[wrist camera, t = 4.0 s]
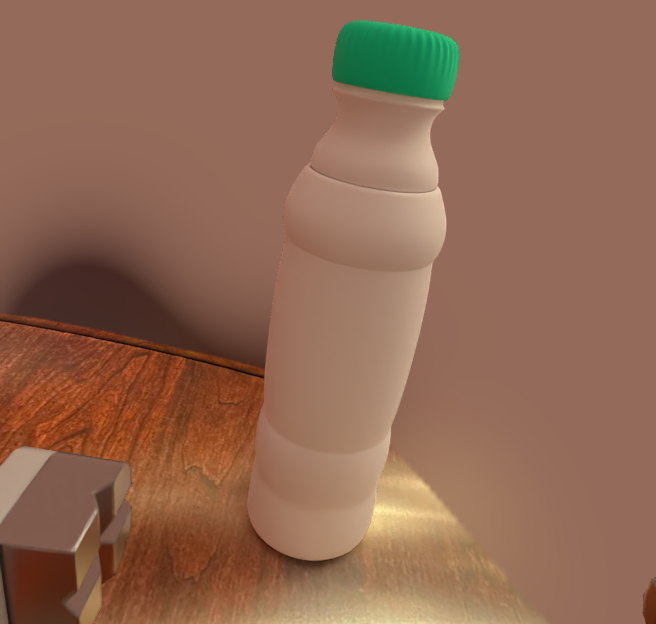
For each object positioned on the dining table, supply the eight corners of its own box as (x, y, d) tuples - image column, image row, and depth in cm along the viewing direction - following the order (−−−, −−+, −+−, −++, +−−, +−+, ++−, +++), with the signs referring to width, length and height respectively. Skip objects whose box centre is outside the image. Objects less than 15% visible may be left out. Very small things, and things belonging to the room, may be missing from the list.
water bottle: (393, 538, 30) (536, 50, 20) (284, 589, 26) (388, 13, 16) (325, 459, 35) (409, 36, 25) (225, 491, 31) (274, 6, 21)
